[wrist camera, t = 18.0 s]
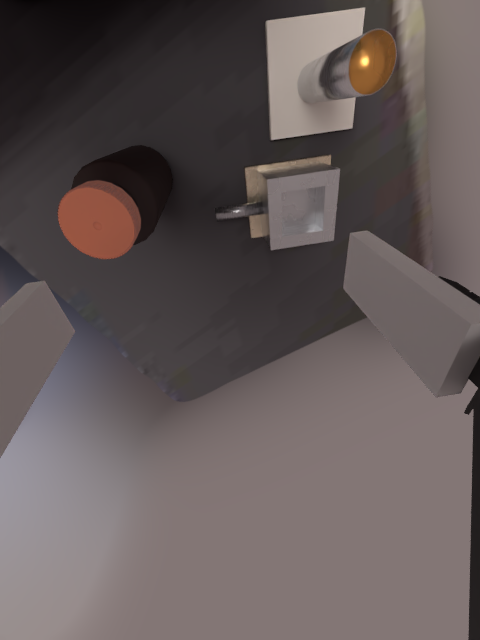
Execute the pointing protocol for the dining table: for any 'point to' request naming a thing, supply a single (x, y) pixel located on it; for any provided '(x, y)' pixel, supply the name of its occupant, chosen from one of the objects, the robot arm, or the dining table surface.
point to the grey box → (289, 202)
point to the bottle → (115, 202)
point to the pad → (290, 58)
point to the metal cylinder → (350, 69)
